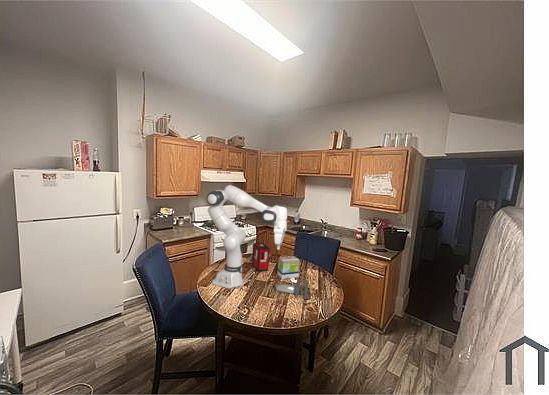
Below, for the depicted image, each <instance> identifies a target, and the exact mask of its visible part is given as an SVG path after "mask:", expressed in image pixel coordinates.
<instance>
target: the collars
mask: <svg viewBox="0 0 549 395" xmlns="http://www.w3.org/2000/svg"><path fill="white" fill-rule="evenodd" d="M304 283H305V285H304V293H303V298H304V299H308V292H309V293H312V286H313V279H310V282H309V281H308V280H305V282H304ZM309 283H310V284H309ZM300 284H301V280H300V279H296V284H295V286H296V293H295V294H294V297H295V298H299V295H300V294H299V287H301V286H300Z"/></svg>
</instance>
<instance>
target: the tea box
mask: <svg viewBox="0 0 549 395" xmlns="http://www.w3.org/2000/svg"><path fill="white" fill-rule="evenodd" d="M300 263H301V260H300V259H299V258H297V256H294V255H293V256H281V257H278V263H277V273H276V274H277V275H278V276H279V278H280V279H281V280H287V279H294V278H299V275H300V266H301V264H300Z"/></svg>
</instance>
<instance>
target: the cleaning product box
mask: <svg viewBox="0 0 549 395" xmlns="http://www.w3.org/2000/svg"><path fill="white" fill-rule="evenodd" d="M269 261H270V247H269V246H268V245H266V244H265V243H263V242H262V241H261V242H252V258H251V265H252V266H253V268H255V270H256V271H257V272H258V273H262V272H269V267H270V266H269V264H270V263H269Z"/></svg>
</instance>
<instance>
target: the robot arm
mask: <svg viewBox="0 0 549 395" xmlns="http://www.w3.org/2000/svg"><path fill="white" fill-rule="evenodd" d="M205 199H206V203H207V204H208V205H209V207H208V208H207V213H208V215H209V217H210V218H211V221H212V222H213V224H214V225H215V226H216V228H217V229H218V230H219V231H220V232H222V233H224V234H225V235H226V236H225V237H224V239H223V241H222V245H223V247H224V248H225V252H226V262H225V263H224V264H223V268H222V269H220V270H219V271H218V272H217V274H216V276H215V277H214V278H213V280H212V283H211V284H212V285H215V286H217V287H218V286H219V287H221V288H222V287H223V288H226V289H232V288H236V287H240V286H242V285H243V284H244V280H243V273H242V272H243V264H242V263H243V253H242V251H241V245H242V244H243V242H245V240H246V236H247V234H246V232H245V230H243V229H241V228H240V227H238V225H237V224H236V223H234V221H233V220H232V219H231V217H230V216H229V215H228V214H227V212H226V211H225V210H224V206H226V205H227V203H228V202H229V201H230V202H231V203H232V204H234V205H236V206H239V207H241V208H251V209H255V210H257V211H258V212H261V213H260V218H261V220H262V222H263V223H274V226H273V233H274V235H273V236H274V244H275V245H276V249H277V250H280V249H281V246H283V240H284V238H285V233H286V232H287V231H288V230H287V229H288V225H287V224H288V222H287V221H288V208H287V207H286V205H283V204H280V203H277V204H276V205H273V206H272V205H271V206H270V205H268V204H265V203H263V202H262V201H259V200H257V199H255V197H252V196H251V195H250V194H249V193H247V192H245V191H244V190H242V189H240V188H239V187H237V186H234V185H232V184H229V185H226V186H225V187H224V188H223V189H216V190H211V191H210V192H208V193H207V195H206V198H205Z"/></svg>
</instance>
